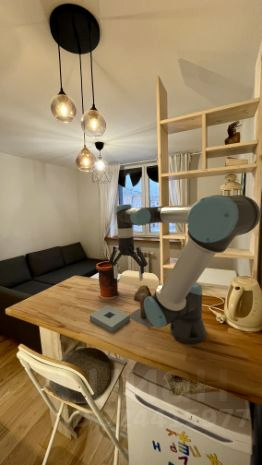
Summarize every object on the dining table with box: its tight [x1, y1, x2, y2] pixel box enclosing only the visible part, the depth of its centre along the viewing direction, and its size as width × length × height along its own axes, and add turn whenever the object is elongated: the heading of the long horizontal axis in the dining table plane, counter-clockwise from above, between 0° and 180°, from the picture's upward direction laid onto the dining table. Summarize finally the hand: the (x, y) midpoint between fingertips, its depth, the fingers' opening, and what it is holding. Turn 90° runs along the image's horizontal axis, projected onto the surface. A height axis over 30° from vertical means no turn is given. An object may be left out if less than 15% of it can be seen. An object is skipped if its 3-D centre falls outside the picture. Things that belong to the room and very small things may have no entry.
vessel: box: [95, 260, 120, 300], centre depth 125 cm, size 14×14×20 cm
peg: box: [139, 293, 147, 319], centre depth 97 cm, size 3×3×12 cm
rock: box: [133, 284, 153, 301], centre depth 117 cm, size 11×9×10 cm
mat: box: [129, 308, 154, 328], centre depth 98 cm, size 14×10×1 cm
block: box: [89, 304, 131, 333], centre depth 97 cm, size 16×12×3 cm
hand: (128, 278), depth 97 cm, fingers open, 13 cm apart
